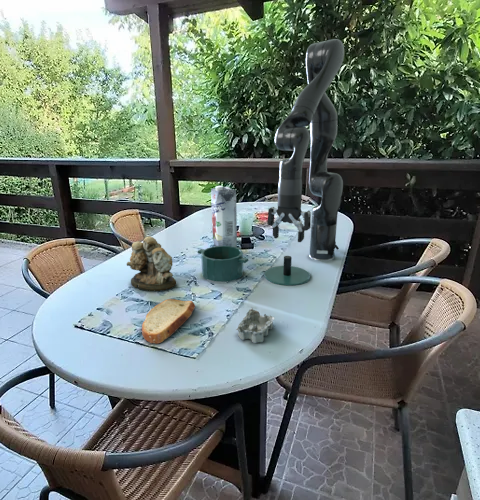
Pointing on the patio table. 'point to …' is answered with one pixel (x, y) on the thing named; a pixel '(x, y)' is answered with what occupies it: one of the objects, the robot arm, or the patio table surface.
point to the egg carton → (254, 326)
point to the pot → (222, 263)
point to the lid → (287, 274)
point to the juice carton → (224, 216)
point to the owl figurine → (151, 266)
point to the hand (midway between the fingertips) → (287, 239)
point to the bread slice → (166, 319)
